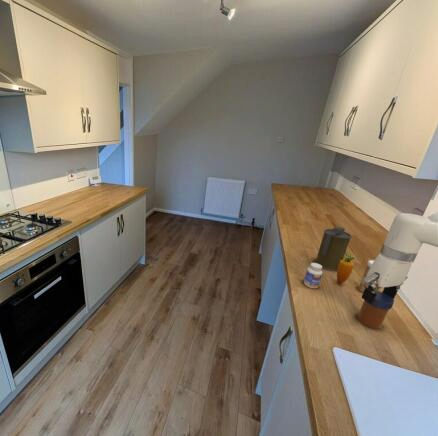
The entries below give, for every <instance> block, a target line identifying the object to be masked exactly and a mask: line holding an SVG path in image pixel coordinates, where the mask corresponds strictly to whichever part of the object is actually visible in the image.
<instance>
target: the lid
mask: <svg viewBox="0 0 438 436" xmlns="http://www.w3.org/2000/svg"><path fill="white" fill-rule="evenodd" d="M376 294H377V295H376V297H375V300H374V302H373V303H372V304H370V303H369V302H367V301H366V300H365V301H366V302H367V303H369V304H370V305H372V306H374V307H377V308H380V309H384V310H388V311H389V310H391V309H392V308H393V305H394V303H395V298H394V299H393V298H392V297H390V296H389V295H387V294H385V293H383V291H381V290H378V291H377V292H376Z"/></svg>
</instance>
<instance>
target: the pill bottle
mask: <svg viewBox="0 0 438 436" xmlns="http://www.w3.org/2000/svg"><path fill="white" fill-rule="evenodd" d="M322 270H323V268H322V266H321V265H320V264H317V263H315V262H311V263H310V265H309V267H307V269H306V273H305V276H304V279H303V284H304V285H305V286H306V287H308V288H311V289H317V288H319V286H320V283H321V280H322V276H323V271H322Z"/></svg>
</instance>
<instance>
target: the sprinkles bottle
mask: <svg viewBox="0 0 438 436" xmlns="http://www.w3.org/2000/svg"><path fill="white" fill-rule="evenodd" d="M373 262H374V260H372V259H369V260H367V264H366V267H365V270H364V272H363V274H362V277H361V279H360V283H359V286H358V287H357V289H358V291H360V292H361V293H363V292H364V290H365V288H364V280H365V279H366V276H367V273H368V271H369V269H370V267H371V266H372V264H373ZM374 282H375V283H377V282H376V281H374ZM371 286H372V287H373V288H375V287H376V285H374V284H372V285H371Z"/></svg>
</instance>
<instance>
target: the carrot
mask: <svg viewBox="0 0 438 436" xmlns="http://www.w3.org/2000/svg"><path fill="white" fill-rule="evenodd" d="M343 257H344V258H343V260H340V262H339V266H338V270H337V271H336V280H337V284H339V285H341V284H343V283H345V282H346V281H347V280H348V278H349V277H351V274H352V271H353V269H354V264H355V263H354V262H353V261H352V260H354V259H355V258H356V257H355V256H353V253H349V252H348V251H346V252H345V256H343Z"/></svg>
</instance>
